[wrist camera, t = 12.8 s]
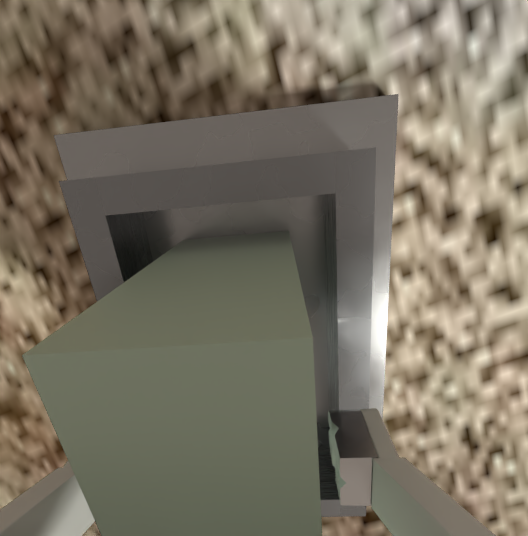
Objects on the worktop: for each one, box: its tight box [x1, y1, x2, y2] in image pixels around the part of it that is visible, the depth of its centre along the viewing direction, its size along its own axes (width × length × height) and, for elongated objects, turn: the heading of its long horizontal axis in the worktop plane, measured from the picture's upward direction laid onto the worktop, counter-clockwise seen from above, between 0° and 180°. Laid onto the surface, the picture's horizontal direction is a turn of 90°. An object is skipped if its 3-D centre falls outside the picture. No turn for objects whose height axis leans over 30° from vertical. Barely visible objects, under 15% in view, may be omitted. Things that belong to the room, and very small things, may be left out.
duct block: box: [22, 231, 322, 536], centre depth 10 cm, size 4×11×8 cm, turn 5°
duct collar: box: [54, 94, 398, 517], centre depth 13 cm, size 20×13×3 cm, turn 6°
